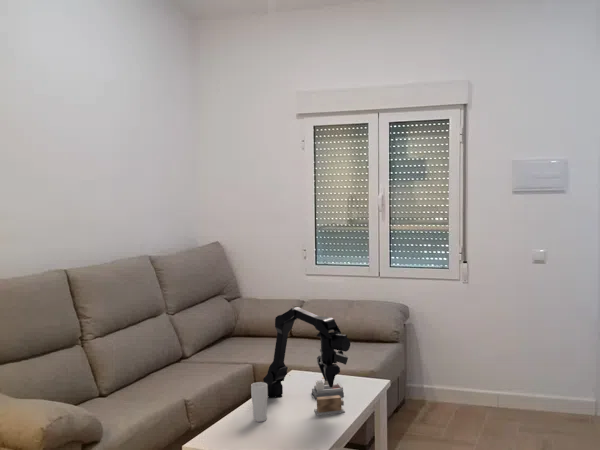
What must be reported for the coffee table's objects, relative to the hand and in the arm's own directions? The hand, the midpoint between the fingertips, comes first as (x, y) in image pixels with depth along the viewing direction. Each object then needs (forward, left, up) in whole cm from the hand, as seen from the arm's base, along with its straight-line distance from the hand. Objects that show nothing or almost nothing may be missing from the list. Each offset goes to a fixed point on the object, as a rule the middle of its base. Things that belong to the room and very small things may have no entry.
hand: (328, 383), depth 260 cm
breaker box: (+4, +21, -12) cm, 24 cm away
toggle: (+1, +21, -10) cm, 23 cm away
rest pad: (0, 0, -12) cm, 12 cm away
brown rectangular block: (0, 0, -11) cm, 11 cm away
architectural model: (+8, +37, -13) cm, 40 cm away
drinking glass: (-30, -2, -12) cm, 32 cm away
